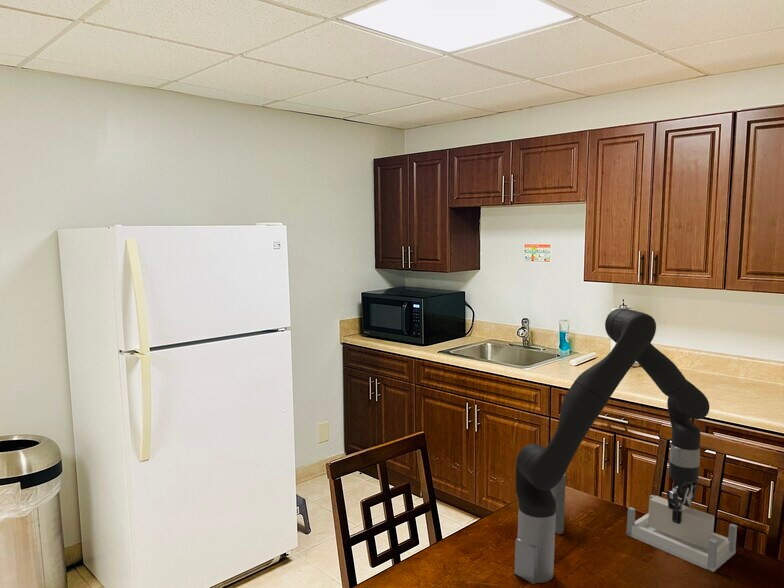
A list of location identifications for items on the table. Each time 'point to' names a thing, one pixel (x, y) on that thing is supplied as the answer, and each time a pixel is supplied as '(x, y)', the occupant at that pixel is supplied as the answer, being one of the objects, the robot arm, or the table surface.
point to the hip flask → (559, 504)
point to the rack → (684, 543)
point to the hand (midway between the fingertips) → (680, 519)
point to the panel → (692, 525)
